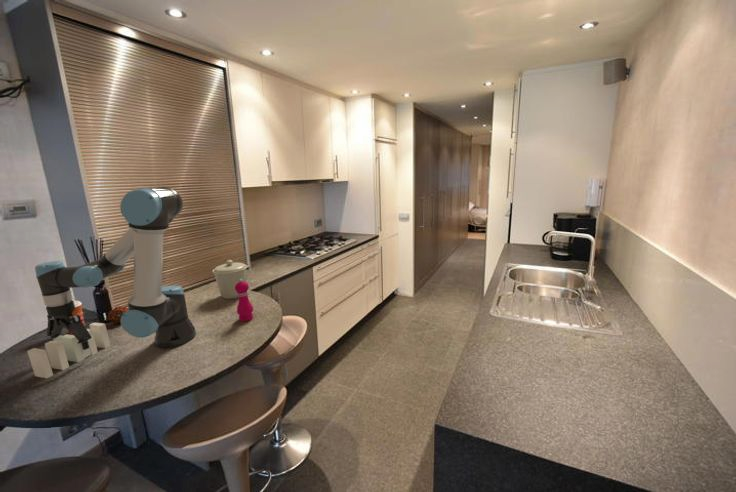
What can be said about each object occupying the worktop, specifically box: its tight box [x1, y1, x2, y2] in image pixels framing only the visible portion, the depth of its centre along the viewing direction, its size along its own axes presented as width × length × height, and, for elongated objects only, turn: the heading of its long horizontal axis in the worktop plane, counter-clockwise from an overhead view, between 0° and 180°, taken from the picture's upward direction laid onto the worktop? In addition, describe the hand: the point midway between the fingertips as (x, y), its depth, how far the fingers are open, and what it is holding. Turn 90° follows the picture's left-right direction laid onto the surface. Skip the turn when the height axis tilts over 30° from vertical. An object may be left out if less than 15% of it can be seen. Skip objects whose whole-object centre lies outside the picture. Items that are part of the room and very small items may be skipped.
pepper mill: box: [235, 279, 254, 322], centre depth 152 cm, size 7×7×20 cm
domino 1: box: [26, 347, 54, 379], centre depth 114 cm, size 6×2×10 cm, turn 73°
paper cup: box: [67, 300, 86, 335], centre depth 146 cm, size 8×8×14 cm
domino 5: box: [89, 322, 111, 349], centre depth 133 cm, size 6×2×10 cm, turn 73°
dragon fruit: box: [105, 305, 128, 324], centre depth 155 cm, size 8×8×12 cm
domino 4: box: [86, 328, 99, 356], centre depth 128 cm, size 6×2×10 cm, turn 73°
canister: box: [212, 259, 248, 300], centre depth 181 cm, size 18×18×21 cm
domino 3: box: [60, 333, 85, 363], centre depth 123 cm, size 6×2×10 cm, turn 73°
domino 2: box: [44, 340, 70, 371], centre depth 119 cm, size 6×2×10 cm, turn 73°
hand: (74, 354), depth 124 cm, fingers open, 13 cm apart
